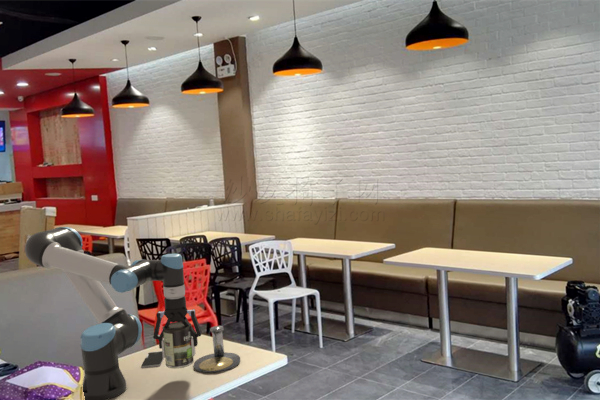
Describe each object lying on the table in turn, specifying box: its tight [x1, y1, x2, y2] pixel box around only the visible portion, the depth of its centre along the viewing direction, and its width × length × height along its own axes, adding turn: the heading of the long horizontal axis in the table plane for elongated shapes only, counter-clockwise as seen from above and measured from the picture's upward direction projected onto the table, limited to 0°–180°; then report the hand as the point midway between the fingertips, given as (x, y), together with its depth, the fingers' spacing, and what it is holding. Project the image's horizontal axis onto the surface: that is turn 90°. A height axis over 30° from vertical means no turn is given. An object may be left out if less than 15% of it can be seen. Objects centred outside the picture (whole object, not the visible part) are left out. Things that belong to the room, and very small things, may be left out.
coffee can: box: [162, 322, 195, 369], centre depth 201 cm, size 10×10×14 cm
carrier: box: [193, 325, 241, 374], centre depth 214 cm, size 18×19×12 cm
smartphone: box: [141, 350, 165, 369], centre depth 224 cm, size 8×1×15 cm
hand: (179, 355), depth 202 cm, fingers closed on coffee can, 10 cm apart
